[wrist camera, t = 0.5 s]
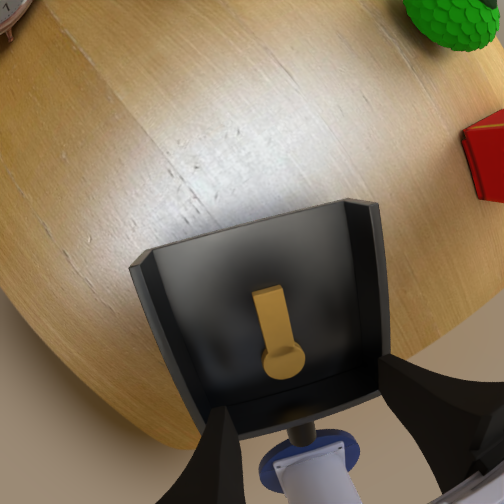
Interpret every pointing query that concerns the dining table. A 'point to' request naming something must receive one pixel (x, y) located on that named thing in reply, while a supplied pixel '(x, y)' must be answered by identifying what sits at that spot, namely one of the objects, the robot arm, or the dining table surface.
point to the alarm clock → (11, 14)
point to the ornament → (456, 22)
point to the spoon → (277, 334)
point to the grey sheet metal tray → (247, 324)
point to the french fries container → (487, 156)
